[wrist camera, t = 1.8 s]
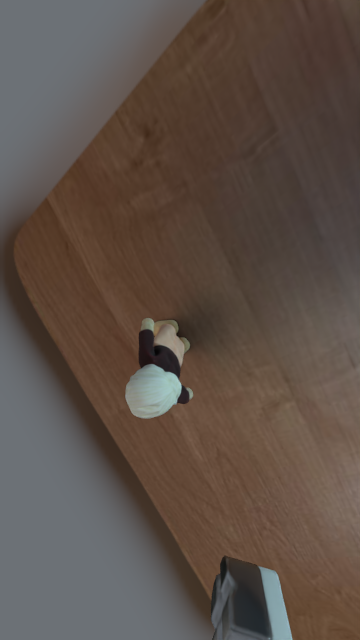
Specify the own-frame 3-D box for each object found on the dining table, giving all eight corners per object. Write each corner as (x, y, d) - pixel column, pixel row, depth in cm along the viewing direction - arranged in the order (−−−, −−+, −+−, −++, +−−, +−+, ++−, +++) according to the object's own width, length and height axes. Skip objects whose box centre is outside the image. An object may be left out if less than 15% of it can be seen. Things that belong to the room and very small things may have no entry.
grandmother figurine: (136, 326, 27) (76, 375, 15) (163, 303, 26) (123, 334, 14) (183, 379, 28) (163, 469, 15) (211, 359, 27) (213, 436, 15)
